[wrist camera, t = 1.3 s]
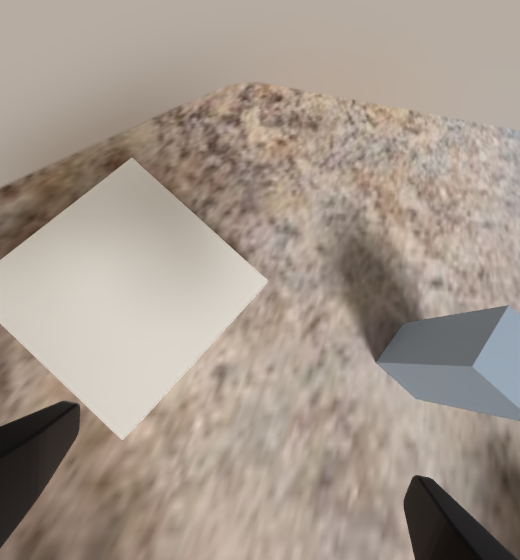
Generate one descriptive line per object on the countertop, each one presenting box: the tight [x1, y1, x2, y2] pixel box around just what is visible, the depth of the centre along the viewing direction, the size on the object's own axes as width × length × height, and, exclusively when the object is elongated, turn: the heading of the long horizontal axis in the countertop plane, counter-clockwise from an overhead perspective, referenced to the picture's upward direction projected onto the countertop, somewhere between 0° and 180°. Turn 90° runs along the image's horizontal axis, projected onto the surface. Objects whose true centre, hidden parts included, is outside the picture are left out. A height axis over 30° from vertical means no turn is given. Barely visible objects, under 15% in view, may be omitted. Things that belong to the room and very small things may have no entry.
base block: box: [0, 158, 268, 440], centre depth 21 cm, size 12×12×4 cm
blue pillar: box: [376, 305, 520, 421], centre depth 20 cm, size 4×4×9 cm
